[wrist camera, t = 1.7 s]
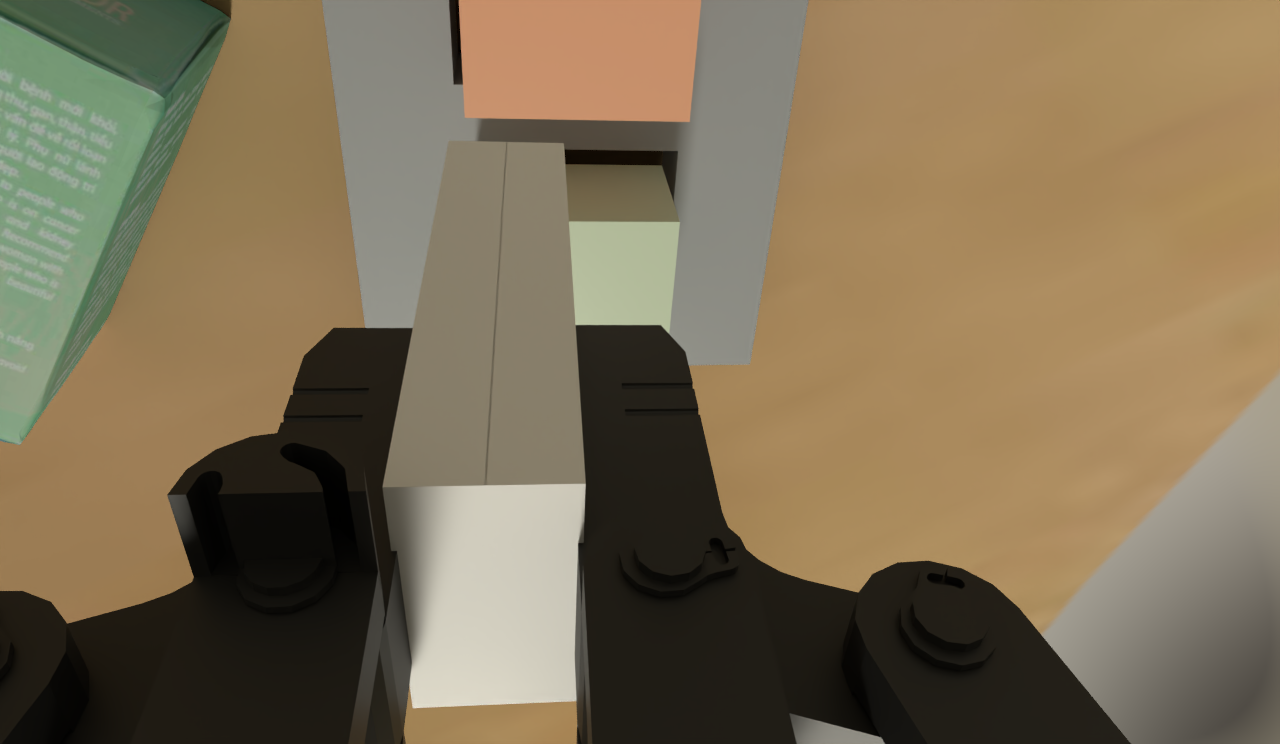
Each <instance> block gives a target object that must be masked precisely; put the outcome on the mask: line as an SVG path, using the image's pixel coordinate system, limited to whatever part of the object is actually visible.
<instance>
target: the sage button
mask: <svg viewBox="0 0 1280 744" xmlns="http://www.w3.org/2000/svg"><path fill="white" fill-rule="evenodd" d="M565 168H566V184H567V200H568V215H569V231H570V246H571V262H572V278H573V293H574V309H575V325H661V326H662V327H663V328H664V329H665V330H666V331H667V332H668V333H669V331H670V321H671V310H672V300H673V289H674V279H675V269H676V258H677V248H678V237H679V227H680V220H679V217H678V214H677V211H676V208H675V205H674V202H673V199H672V196H671V193H670V189H669V186H668V183H667V180H666V177H665V174H664V171H663V168H662V165H578V164H565Z"/></svg>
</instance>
